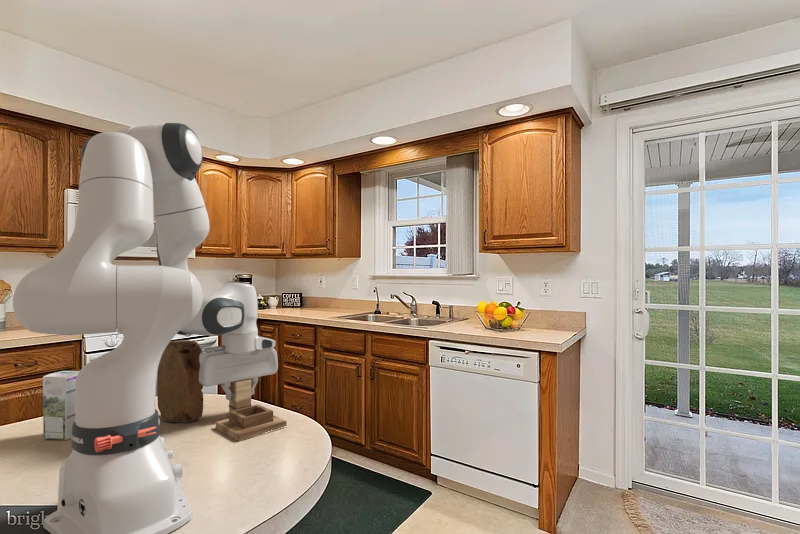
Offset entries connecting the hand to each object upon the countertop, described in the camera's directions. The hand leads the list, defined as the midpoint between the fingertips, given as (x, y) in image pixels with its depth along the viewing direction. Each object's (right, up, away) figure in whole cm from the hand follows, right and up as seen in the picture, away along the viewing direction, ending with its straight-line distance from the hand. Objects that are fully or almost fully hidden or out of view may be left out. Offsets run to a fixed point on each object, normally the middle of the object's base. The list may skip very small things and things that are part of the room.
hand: (240, 396), depth 114 cm
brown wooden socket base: (+6, -5, -8) cm, 11 cm away
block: (-14, -5, -2) cm, 15 cm away
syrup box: (-36, -5, -13) cm, 39 cm away
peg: (0, -5, 0) cm, 5 cm away
